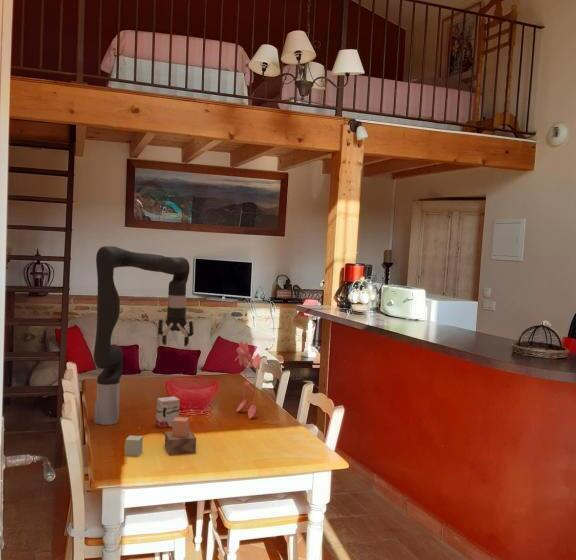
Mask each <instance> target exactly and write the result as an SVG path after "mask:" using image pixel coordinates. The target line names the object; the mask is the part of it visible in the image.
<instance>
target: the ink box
mask: <svg viewBox="0 0 576 560" xmlns="http://www.w3.org/2000/svg"><path fill="white" fill-rule="evenodd" d="M176 417H180V398H178V397H177V396H174V395H173V396H166V397H158V398H157V399H156V417H155V425H156V427H158V428H160V429H165V428H172V427H173V420H174V419H175V418H176Z"/></svg>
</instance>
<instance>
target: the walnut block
mask: <svg viewBox="0 0 576 560" xmlns="http://www.w3.org/2000/svg"><path fill="white" fill-rule="evenodd" d="M164 448H165V450H166V452H167V455H168V456H176V455H177V456H178V455H191V454H196V453H197V437H196V436H195V434H194V433H193V431H192V429H189V433H188V435H187V436H186V437H175V436H172V431H171V430H170V431H165V432H164Z"/></svg>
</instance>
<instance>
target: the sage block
mask: <svg viewBox="0 0 576 560" xmlns="http://www.w3.org/2000/svg"><path fill="white" fill-rule="evenodd" d="M143 438H144V436H143V435H128V437H126V439H125V445H124V457H125V456H126V457H140V455H141V454H142V453H143V442H144V441H143V440H144V439H143Z"/></svg>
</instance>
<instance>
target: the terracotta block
mask: <svg viewBox="0 0 576 560" xmlns="http://www.w3.org/2000/svg"><path fill="white" fill-rule="evenodd" d="M189 425H190V417H182V416H179V417H176V418H175V419H174V420H173V427H171V429H172V436H175V437H186V436H187V435H188V433H189V430H190V426H189Z"/></svg>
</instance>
